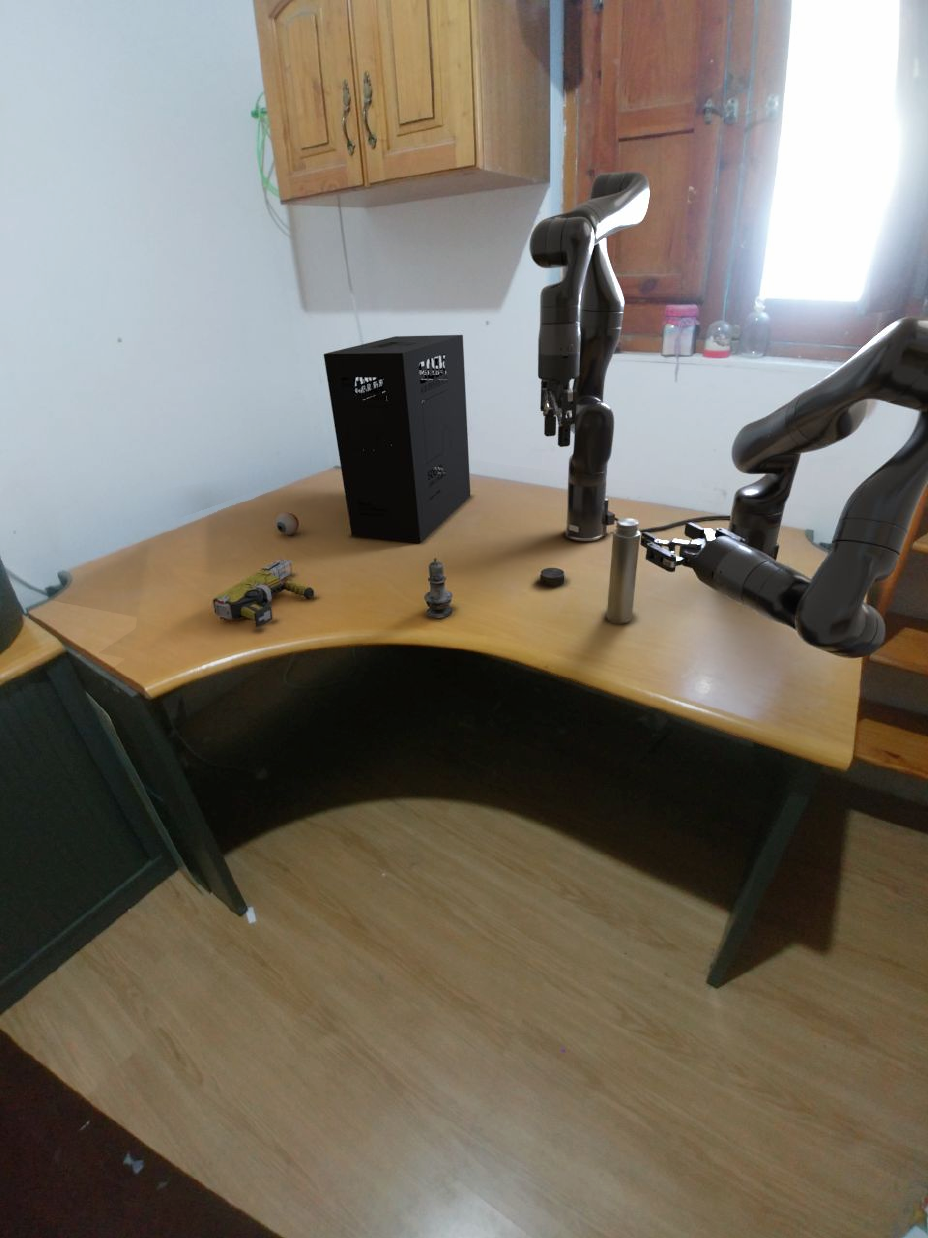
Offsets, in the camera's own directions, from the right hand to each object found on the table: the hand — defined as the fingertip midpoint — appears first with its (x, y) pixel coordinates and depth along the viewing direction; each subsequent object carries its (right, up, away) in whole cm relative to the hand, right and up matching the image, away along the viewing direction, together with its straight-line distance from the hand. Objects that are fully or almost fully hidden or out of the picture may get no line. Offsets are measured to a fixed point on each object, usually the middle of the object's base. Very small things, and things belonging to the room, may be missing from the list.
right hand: (664, 532), depth 98 cm
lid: (-14, -4, +33) cm, 36 cm away
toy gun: (-73, -10, +33) cm, 81 cm away
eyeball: (-81, +9, +67) cm, 105 cm away
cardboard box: (-47, +16, +75) cm, 90 cm away
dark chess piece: (-38, -13, +25) cm, 47 cm away
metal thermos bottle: (-2, -14, +19) cm, 24 cm away
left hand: (-15, +21, +19) cm, 32 cm away
